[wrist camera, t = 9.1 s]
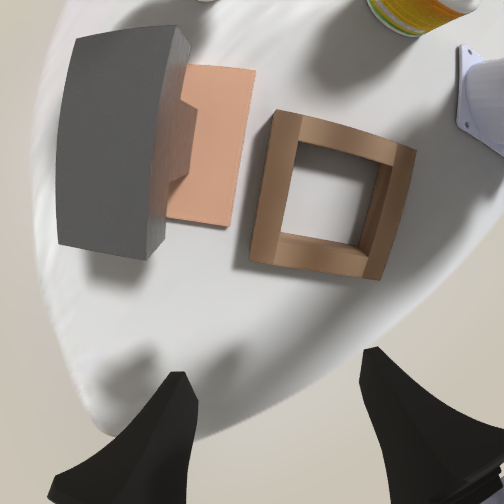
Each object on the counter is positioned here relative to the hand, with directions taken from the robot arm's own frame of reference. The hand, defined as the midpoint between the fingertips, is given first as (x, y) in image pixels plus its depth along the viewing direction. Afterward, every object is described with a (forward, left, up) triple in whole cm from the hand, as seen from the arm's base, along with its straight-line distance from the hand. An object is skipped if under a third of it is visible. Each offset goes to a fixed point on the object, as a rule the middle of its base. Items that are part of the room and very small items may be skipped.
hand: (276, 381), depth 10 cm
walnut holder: (-3, -6, -10) cm, 12 cm away
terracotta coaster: (+8, -8, -10) cm, 15 cm away
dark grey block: (+8, -8, -9) cm, 15 cm away
